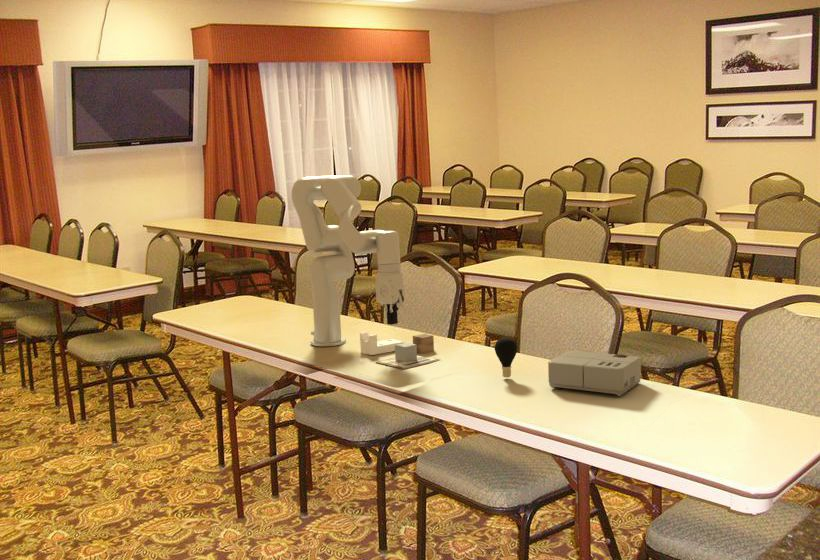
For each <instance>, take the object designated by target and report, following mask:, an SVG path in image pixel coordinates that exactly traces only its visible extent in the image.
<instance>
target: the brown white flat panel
mask: <svg viewBox="0 0 820 560" xmlns="http://www.w3.org/2000/svg"><path fill="white" fill-rule="evenodd" d="M440 361H441V359H439V358H435V357H428V356H425V355H424V356H423V355H418V354H417V360H413V361H409V362H402V361H397V360H395V357H393V358H387V359H383V360H379V361H375V364H378V365H383V366H387V367H391V368H396V369H399V370H404V371H405V370H407V369H412V368H417V367H421V366H424V365H429V364H432V363H435V362H440Z"/></svg>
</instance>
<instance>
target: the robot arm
mask: <svg viewBox="0 0 820 560" xmlns="http://www.w3.org/2000/svg"><path fill="white" fill-rule="evenodd" d="M292 185H293V186H292V189H291V195H290V196H291V200H292V201H291V202H292V205H293V207H294V209H295V211H296V214H297V216H298V219H299V222H300V228H301V230H302V235H303V238H304V239H303V240H304V242H305V246H306V248H307V250H308V251H309V252H310V253H312V254H323V253H331V254H327V255H320V256H316V257H315V258H313V259H312V260H310V262H309V264H308V265H307V273H308V277H309V280H310V286H311V295H312V296H311V297H312V308H313V309H312V310H313V311H312V312H313V331H311V332H310V335H311V336H313V339H311V340H310V345H312V346H314V347H336V346H340V345H343V344H345V343H346V341H347V339H346V338H345V337H343V336H342V326H341V325H342V324H341V307H340V306H341V305H340V294H339V290H338V288H337V286H336V285H335V283H334V282H337V281H345V280H348V279H350V278H351V277H353V276H354V273H355V267H356V266H355V260H354V257H353V254H355V255H365V254H376V258H377V260H376V262H377V272H376V278H375V300H376V302H377V303H379V305H380V306H381V307H383V308H384V311H385V313H386V321H387V323H386V324H387V325H391V326H392V325H396V324H397V325H398V312H399V309H400V308H402V307H404V302H405V299H406V297H405V293H406V292H405V285H404V279H403V275H402V268H401V251H400V250H401V249H400V236H399V232H398V231H396V230H384V229H373V230H372V229H371V230H362V231H359V230H357V228H356V227H355V226H354V224H353V222H352V221H354V220H355V219H356V218H357V217H358V216H359V215H360V213H361V211H362V203H360V201H359V200H358V199H357V198H358V197H359V196H360V195H361V192H362V185H361V183H360V181H359V179H358V178H357V177H356V176H354V175H352V174H349V175H348V174H347V175H345V174H344V175H320V176H319V175H317V176H316V175H315V176H305V177H301V178H298V179H297V180H296V181H295V182H294V183H293V184H292ZM325 200H326V201H327V202H328V204H329V205H330V206H331V208H332V209H333V210H334V212H335V213H336V214H337V216H338V218H339V221H338V224H331V225H327V224H326V222H325V218H324V214H323V212H322V211H321V209H320V207H319V206H317V204H315V203H314V201H325Z"/></svg>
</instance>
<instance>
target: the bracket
mask: <svg viewBox="0 0 820 560" xmlns="http://www.w3.org/2000/svg"><path fill="white" fill-rule="evenodd" d="M359 343H360V344H359V345H360V346H359V347H360V353H361V354H364V355H370V356H373V355H380V354H385V353H391V352H395V345H397V344H402V343H405V342H404V341H401V340H398V339H394V338H391V339H384V340H379V341H378V335H377V334H376V333H375V334H370V335H369V332H368V331H362V332H359Z"/></svg>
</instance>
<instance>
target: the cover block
mask: <svg viewBox="0 0 820 560" xmlns="http://www.w3.org/2000/svg"><path fill="white" fill-rule="evenodd" d="M417 355H418V353H417V345H416V344H413V343H410V342H404V343H402V344H397V345H395V351H394V358H395V360H397V361H402V362H409V361H413V360H417Z"/></svg>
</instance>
